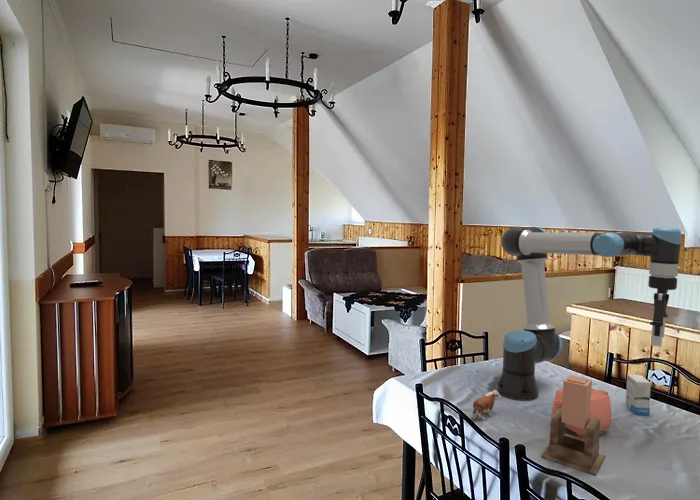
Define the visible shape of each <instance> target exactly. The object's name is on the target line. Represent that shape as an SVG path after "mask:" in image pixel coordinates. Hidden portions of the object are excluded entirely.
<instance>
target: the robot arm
mask: <svg viewBox="0 0 700 500" xmlns="http://www.w3.org/2000/svg"><path fill="white" fill-rule="evenodd" d="M681 239H682V232H681V230H680V229H679V228H674V227H654V228H653V229H652V232H649V233H646V232H634V231H616V232H548V231H547V230H546V229H545V228H542V227H537V226H523V227H522V226H515V227H514V226H513V227H510V228H509V229H507V230H506V231H505V232H504V233H503V234H502V237H501V240H500V241H501V247H502V249H503V251H504V252H505V253H506V254H508V255H510V256H513V257H516V261H517V263H519V264H520V265H521V273H522V274H521V275H522V284H523V285H522V286H523V292H524V302H525V312H526V322H527V323H526V325H525V326H523V330H513V331H510V332H507V333H506V334H505V335H504V338H503V344H502V347H503V353H502V357H503V358H502V372H501V374H500V377H499V380H498V381H497V385H496V391H497V392H498V393H499V394H500V396H501V395H502V396H503V397H505V398H508V399H513V400H518V401H532V400H535V399H538V398H539V392H540V389H539V386H538V383H537V379H536V375H535V372H536V364H539V363H542V362H548V361H551V360H553V359H555V358H557V357H558V356H559V355H560V354H561V352H562V349H563V340H562V337H561V336H560V335H559V334H558V332H556V327H555V325H553V324H552V322H551V319H550V318H551V317H550V307H549V299H548V298H549V297H548V289H547V287H548V286H547V280H546V271H545V269H546V268H545V262H547V260H548V258H549V257H548V254H557V255H558V254H559V255H581V256H583V255H584V256H597V257H599V256H601V257H604V258H605V257H606V258H613V257H619V256H620V257H621V256H640V257H641V256H644V257H650V261H649V270H648V274H650V275H649V276H648V287H649V288H650V289H656V292H654V293H653V307H654V308H653V317H652V321H650V322H649V325H651V327H652V328H651V339H650V340H651V341H650V346H653V347H660V348H661V347H662V343H663V341H662V340H663V338H665V330H666V329H665V328H666V319H667V318H669V314H667V312H666V311H667V307H668V303H669V300H670V293H669V294H668V291H674V290H676V289H677V287H678V278H677V277H678V274H679V271H680V270H681V267H680V266H679V264H680V253H681V245H682V240H681Z"/></svg>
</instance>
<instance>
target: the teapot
mask: <svg viewBox="0 0 700 500" xmlns="http://www.w3.org/2000/svg"><path fill="white" fill-rule="evenodd" d="M562 398H563V387H562V388H558V389H556V391H555V395H554V400H553V404H552V412H551V414H552V415H551V416H553V415H554V414H555V413H556V411H557V410H558V409H562ZM592 418H596V419H600V432H599V435H603V432H602V431H605V430H608V429H610V427H611V423H612V405H611V398H610V396H609V392H608V391H605V390H603V389H599V390H597V389H595V388H591V404H590V420H591V419H592ZM589 422H590V421H589ZM587 425H588V424H587ZM565 429H568V430H570V431H572V432H574V433H576V437H579V438H582V439H585V431H586V427H585V429H584V428H580V427H577V426H573V425H570V424H566V423H565Z"/></svg>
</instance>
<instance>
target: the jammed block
mask: <svg viewBox="0 0 700 500" xmlns="http://www.w3.org/2000/svg"><path fill="white" fill-rule="evenodd" d="M562 382H563V383H562V388H563V398H562V416H561V422H563V423H566V424H570V425H573V426H577V427H580V428H584V429H585V427H586V426H587V424H588V423H589V421H590V404H591V388H592V387H593V385H592V384H593V380H591V379H588V378H586V377H582V376H577V375H572V374H571V375H568V376H567V377H566V378H565V379H564V380H563V381H562ZM592 389H593V388H592Z"/></svg>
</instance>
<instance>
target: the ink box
mask: <svg viewBox="0 0 700 500" xmlns="http://www.w3.org/2000/svg"><path fill="white" fill-rule="evenodd" d="M651 385H652V384H651V382H650V381H649V380H648V379H646V377H644V376H642V375H641V374H631V373H628V374H626V390H625V393H626V394H625V406H626V407H627V408H628V409H629V410H630V411H632V413H634V415H638V416H639V415H641V416H642V415H643V416H650V405H651Z"/></svg>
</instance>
